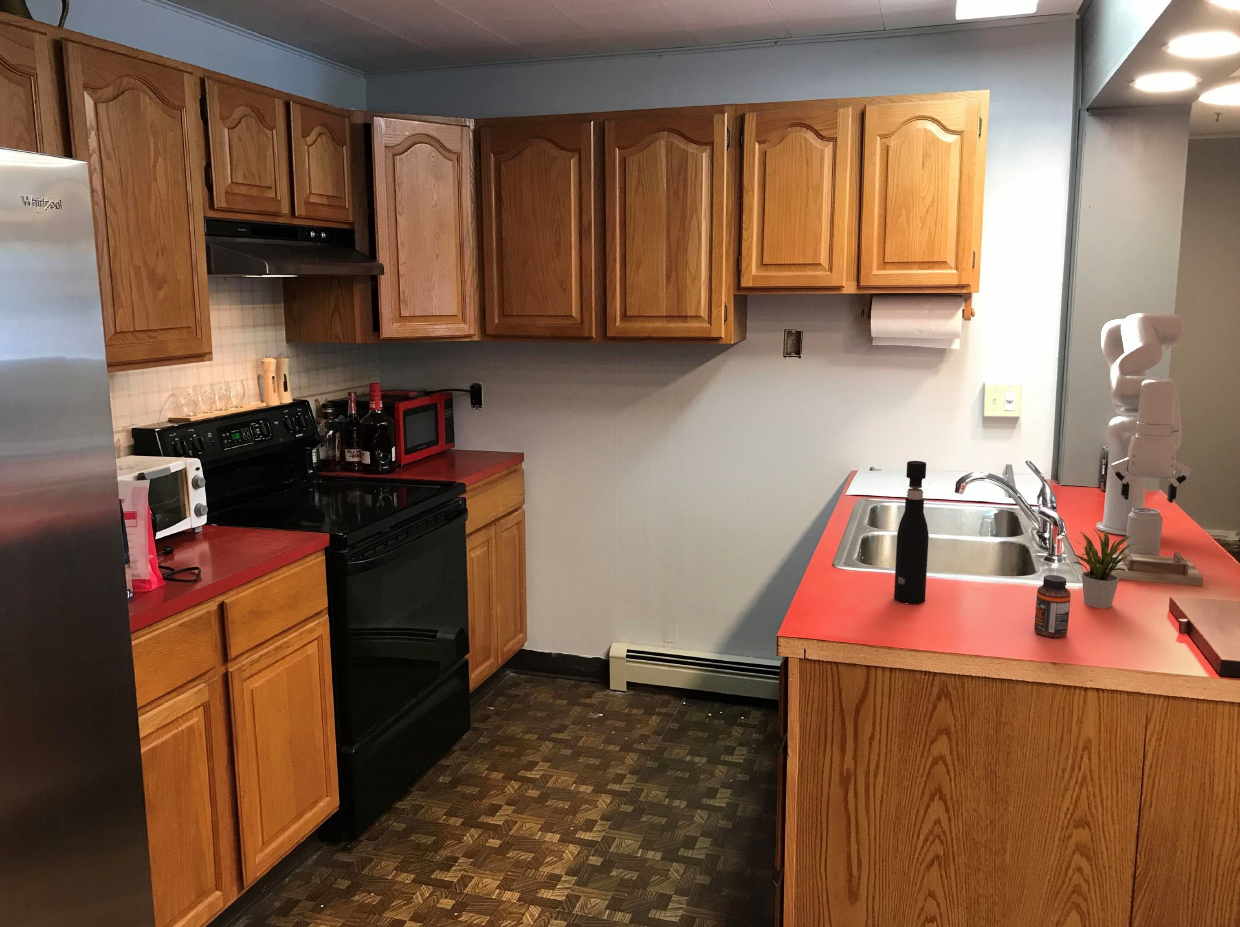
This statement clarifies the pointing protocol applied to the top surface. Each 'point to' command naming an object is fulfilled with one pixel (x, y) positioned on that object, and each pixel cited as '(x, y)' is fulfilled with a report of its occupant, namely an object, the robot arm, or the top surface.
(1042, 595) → the supplement bottle
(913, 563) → the black insulated water bottle
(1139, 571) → the dock
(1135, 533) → the can
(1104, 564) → the house plant
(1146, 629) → the top surface
